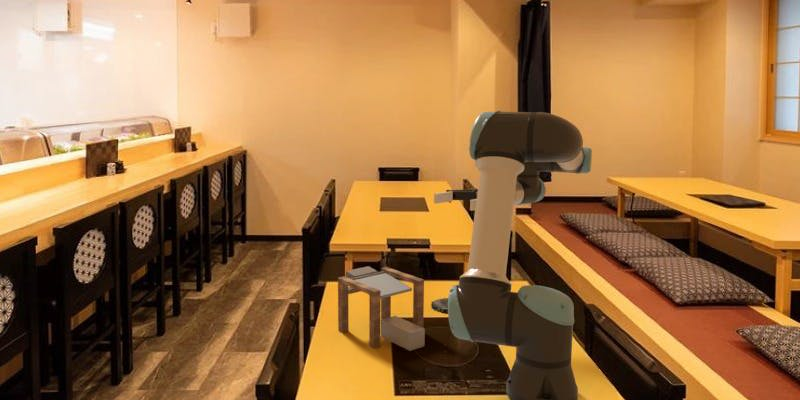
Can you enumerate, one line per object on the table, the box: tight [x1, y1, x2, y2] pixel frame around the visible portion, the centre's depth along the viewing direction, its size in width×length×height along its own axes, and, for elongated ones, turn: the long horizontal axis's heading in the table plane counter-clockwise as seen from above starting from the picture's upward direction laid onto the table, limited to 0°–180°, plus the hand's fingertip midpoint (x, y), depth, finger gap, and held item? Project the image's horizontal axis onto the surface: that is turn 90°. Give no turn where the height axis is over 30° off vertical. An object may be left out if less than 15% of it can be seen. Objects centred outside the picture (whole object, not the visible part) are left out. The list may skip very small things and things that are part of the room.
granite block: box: [380, 315, 426, 352], centre depth 165 cm, size 5×5×12 cm
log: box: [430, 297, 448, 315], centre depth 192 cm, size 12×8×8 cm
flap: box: [345, 266, 413, 300], centre depth 172 cm, size 17×12×2 cm
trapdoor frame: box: [337, 266, 425, 349], centre depth 171 cm, size 16×17×15 cm
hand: (452, 201), depth 168 cm, fingers open, 13 cm apart
